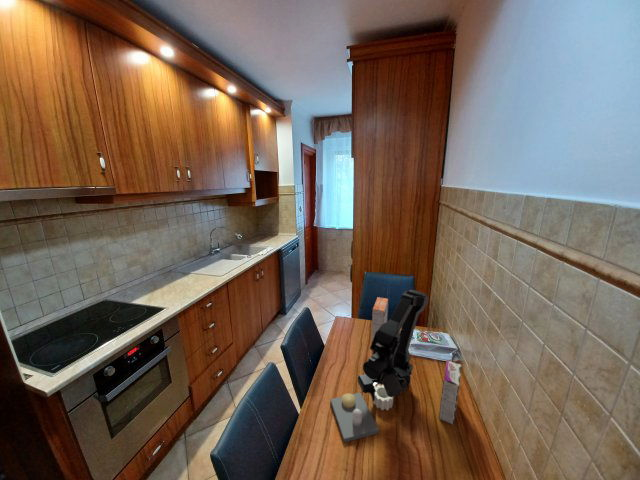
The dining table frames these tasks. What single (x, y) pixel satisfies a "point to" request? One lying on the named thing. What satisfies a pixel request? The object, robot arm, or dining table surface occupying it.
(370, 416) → the carrier board
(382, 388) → the planet gear
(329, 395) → the dining table surface
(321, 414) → the dining table surface
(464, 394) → the dining table surface
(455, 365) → the candy bar box
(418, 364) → the dining table surface
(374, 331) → the cracker box
